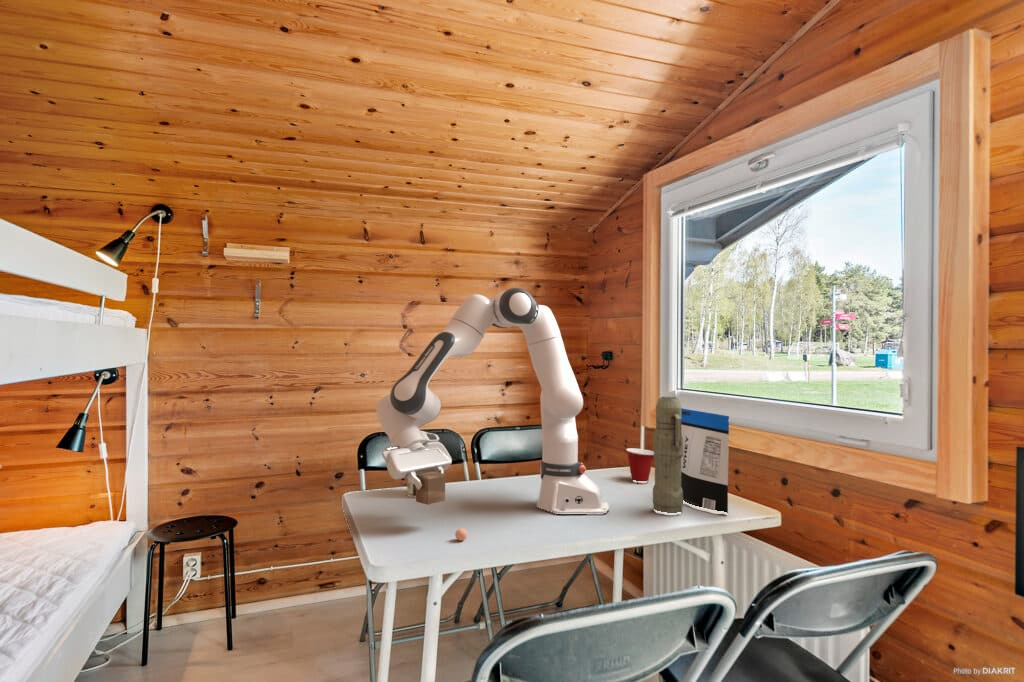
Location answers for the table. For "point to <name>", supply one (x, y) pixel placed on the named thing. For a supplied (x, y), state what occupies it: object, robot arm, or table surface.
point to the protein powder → (705, 459)
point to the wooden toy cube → (431, 488)
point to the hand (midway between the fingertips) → (432, 485)
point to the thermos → (668, 456)
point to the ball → (461, 534)
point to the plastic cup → (640, 463)
